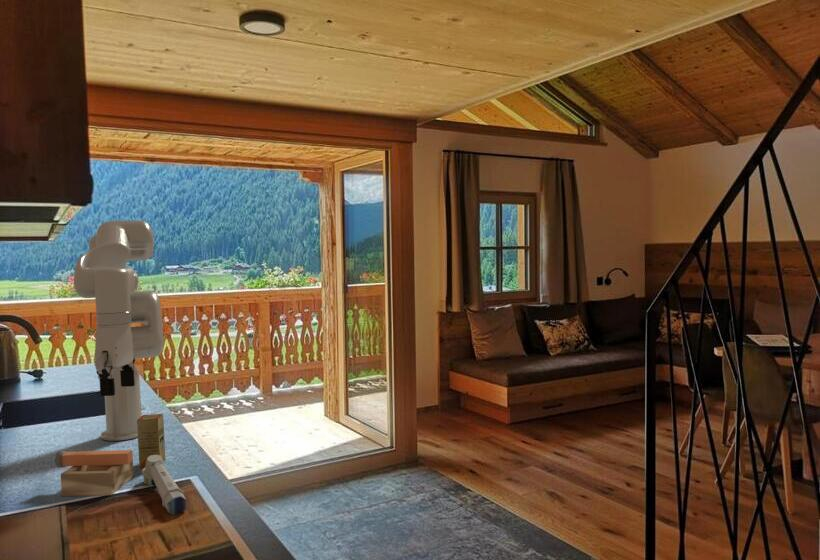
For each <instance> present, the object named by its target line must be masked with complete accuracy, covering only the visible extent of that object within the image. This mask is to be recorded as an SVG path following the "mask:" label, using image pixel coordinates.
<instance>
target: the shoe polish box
mask: <svg viewBox="0 0 820 560" xmlns="http://www.w3.org/2000/svg"><path fill="white" fill-rule="evenodd" d="M164 425H165V423H164V413H157V414H156V413H155V414H145V415H142V416H141V417H140V418H139V419H138V420H137V431H138V437H137V444H138V445H137V446H138V447H137V448H138V449H137V450H138V463H139V464H138V465H139V468H140V467H146V460H147V458H148V457H149V456H151V455H160V456H161V457H162V459H163V462H164V463H165V461H166V446H165V442H166V441H165V427H164Z"/></svg>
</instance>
